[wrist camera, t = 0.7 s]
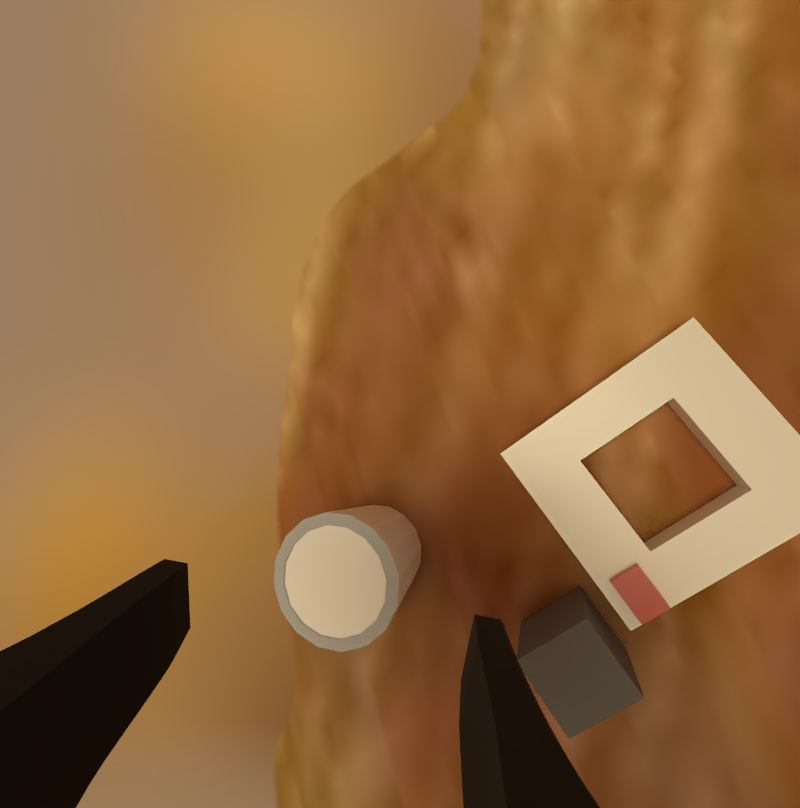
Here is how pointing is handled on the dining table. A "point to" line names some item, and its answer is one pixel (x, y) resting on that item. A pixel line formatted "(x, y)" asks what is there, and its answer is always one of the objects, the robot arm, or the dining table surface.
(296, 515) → the dining table surface
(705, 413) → the socket plate
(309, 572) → the shot glass
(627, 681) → the plug
